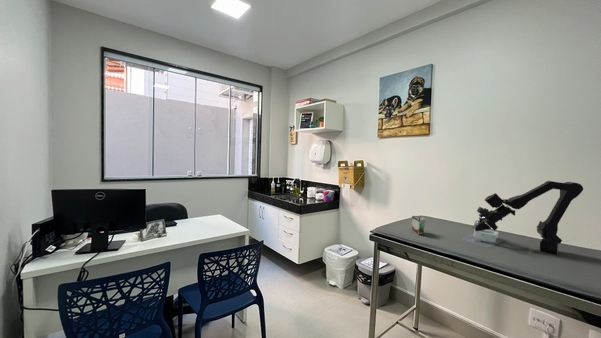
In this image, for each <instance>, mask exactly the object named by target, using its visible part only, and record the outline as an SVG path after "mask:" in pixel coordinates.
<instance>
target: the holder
mask: <svg viewBox="0 0 601 338" xmlns="http://www.w3.org/2000/svg"><path fill="white" fill-rule="evenodd" d="M498 238H499V231H496V230H495V231H494V230H492V229H488V230H481V239H483V240H488V241H492V242H496V240H497V239H498Z"/></svg>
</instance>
